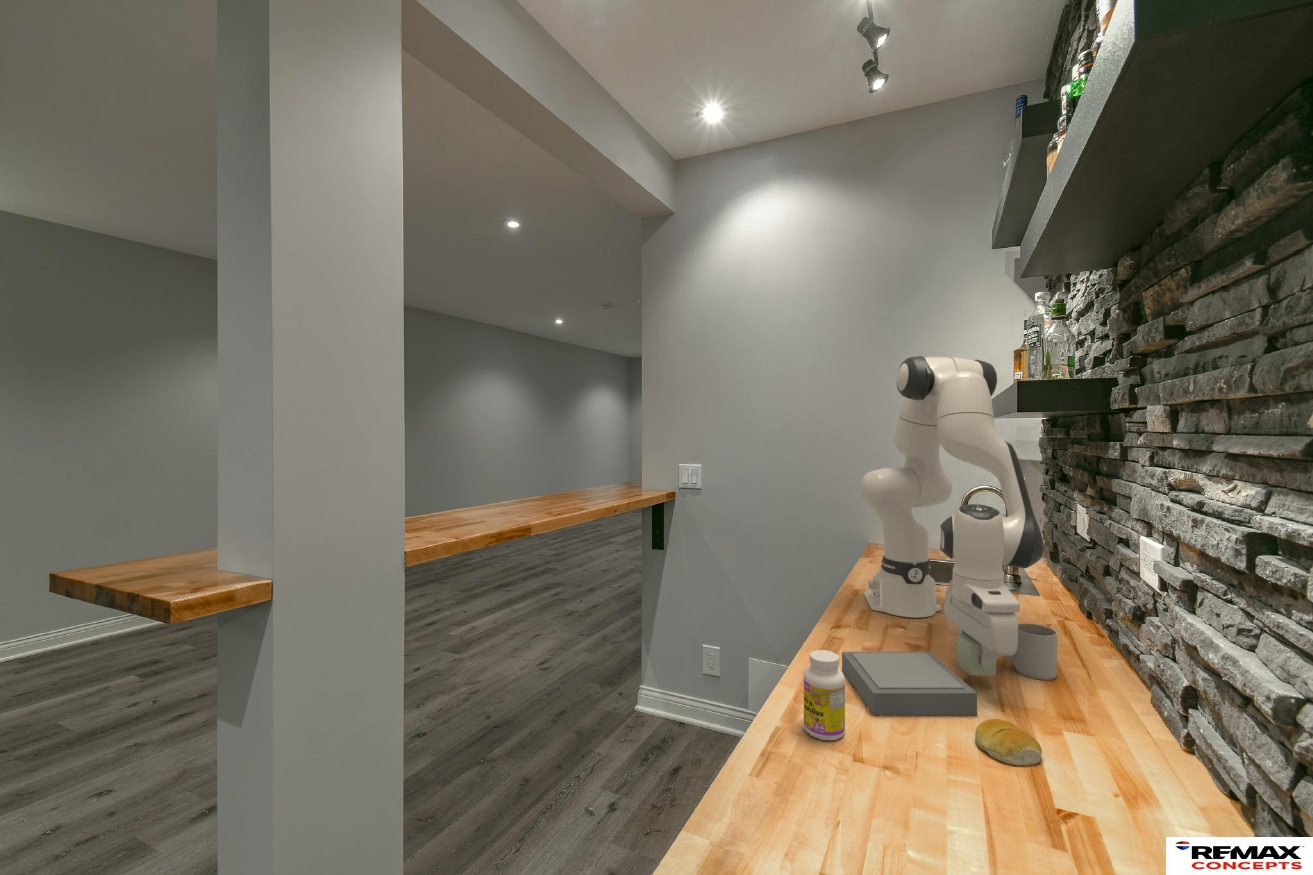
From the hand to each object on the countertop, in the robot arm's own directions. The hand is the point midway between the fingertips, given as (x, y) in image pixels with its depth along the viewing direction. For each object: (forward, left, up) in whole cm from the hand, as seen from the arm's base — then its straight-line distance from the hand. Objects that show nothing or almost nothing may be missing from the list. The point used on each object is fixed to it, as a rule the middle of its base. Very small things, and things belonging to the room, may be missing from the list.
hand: (976, 658), depth 111 cm
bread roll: (+23, -7, -5) cm, 25 cm away
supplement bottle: (+18, -35, -5) cm, 39 cm away
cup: (-5, +13, -5) cm, 15 cm away
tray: (+4, -16, -5) cm, 17 cm away
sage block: (0, 0, -2) cm, 2 cm away
